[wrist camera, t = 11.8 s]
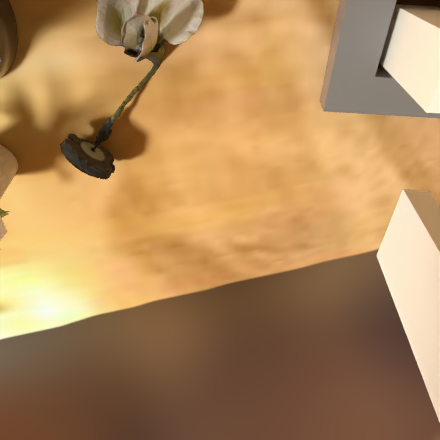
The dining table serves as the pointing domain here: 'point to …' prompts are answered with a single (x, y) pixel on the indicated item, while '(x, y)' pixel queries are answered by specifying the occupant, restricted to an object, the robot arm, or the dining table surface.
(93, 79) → the dining table surface
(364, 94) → the socket
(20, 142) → the dining table surface
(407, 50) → the cream long rectangular block
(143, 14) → the artificial flower
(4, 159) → the house plant
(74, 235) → the dining table surface
